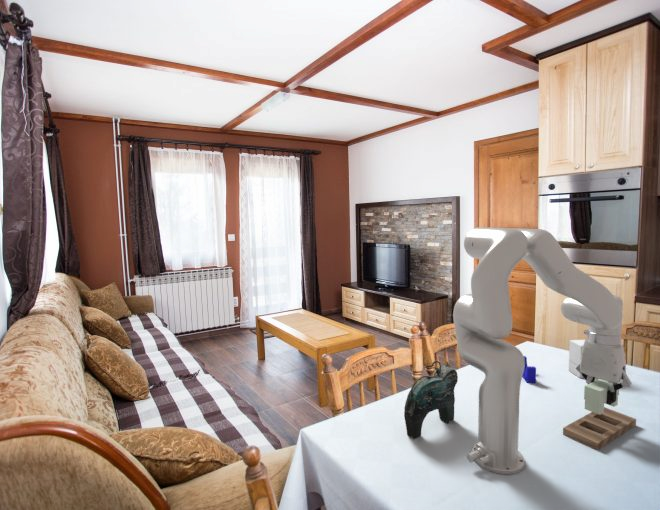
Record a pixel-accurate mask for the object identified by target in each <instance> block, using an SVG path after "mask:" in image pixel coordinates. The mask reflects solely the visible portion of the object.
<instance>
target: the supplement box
mask: <svg viewBox="0 0 660 510" xmlns="http://www.w3.org/2000/svg"><path fill="white" fill-rule="evenodd" d="M585 340H586V339H573V340H572V339H571V340H570V339H569V348H568V349H569V350H568V353H569V354H568V372H570V373H571V374H573V375H575V376H576V377H578V378H579V379H585V378H584V377H583V376H582V374H580V373H579V372H578V371H577V370H576V367H577V366H578V365H579V364H580V360H581V354H582V349H583V345H584V342H585Z"/></svg>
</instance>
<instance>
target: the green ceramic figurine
mask: <svg viewBox="0 0 660 510" xmlns="http://www.w3.org/2000/svg"><path fill="white" fill-rule="evenodd" d="M436 363H438V364H439V365H438V366H434V365H435V364H436ZM430 367H431V368H432V367H433V368H434V372H433V375H422V376H420V377H419V378H417V379H416V380H414V381H413V384H412V385H411V388H410V390H409V392H408V394H407V398H406V400H405V404H404V412H403V413H404V415H403V416H404V423H405V427H406V435H407V436H408V437H410V438H411V439H413V440H416V439H418V438H420V437H421V436H422V428H423V423H424V421H425V419H426V417H427V415H428V414H429V413H431V412H434V411H436V410H437V411H438V415H439V416H438V417H439V420H440V421H442V422H444V423H445V424H449V423H450V422H452V421H454V420H455V401H456V397H455V387H456V386H457V383H458V378H459V377H458V372H457V370H456V369H454V368H452V367H451V366H450V363H449V362H448V361H446V362H445V365H441V362H440V361H438V360H434V361H432V362H431V365H430Z"/></svg>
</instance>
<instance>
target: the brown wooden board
mask: <svg viewBox="0 0 660 510" xmlns="http://www.w3.org/2000/svg"><path fill="white" fill-rule="evenodd" d="M636 426H637V418H634V417H632V416H629V415H627V414H625V413H621V412H618V411H616V410H614V409H610V408H607V407H605V406H604V413H602V414H601V415H599V414H596V413H594V412H591V411H590V412H589V413H588V414H587V413H586V415H584V416H582V417H581V418H579V419H576V420H574V421H573V422H571V423H569V424H567V425H566V426H563V428H562V435H563V436H565V437H568V438H569V439H572V440H574V441H577V442H578V443H581V444H583V445H586V446H587V447H589V448H591V449H594V450H595V451H599V450H601V449H602V448H604V447H605V446H607V445H608V444H610V443H612V442H613V441H615V440H616V439H618V438H620V437H621V436H622V435H624V434H625V433H626V432H629V431H630V430H631V429H633V428H634V427H636Z"/></svg>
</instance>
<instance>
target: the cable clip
mask: <svg viewBox="0 0 660 510" xmlns="http://www.w3.org/2000/svg"><path fill="white" fill-rule="evenodd" d="M523 356H524V355H523ZM524 359H525V368H524V372H523V376H522V379H524V381H525V382H526V384H536V380H537V379H536V377H537V367H536V366H528V361H527V356H526V355H525V356H524Z"/></svg>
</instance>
